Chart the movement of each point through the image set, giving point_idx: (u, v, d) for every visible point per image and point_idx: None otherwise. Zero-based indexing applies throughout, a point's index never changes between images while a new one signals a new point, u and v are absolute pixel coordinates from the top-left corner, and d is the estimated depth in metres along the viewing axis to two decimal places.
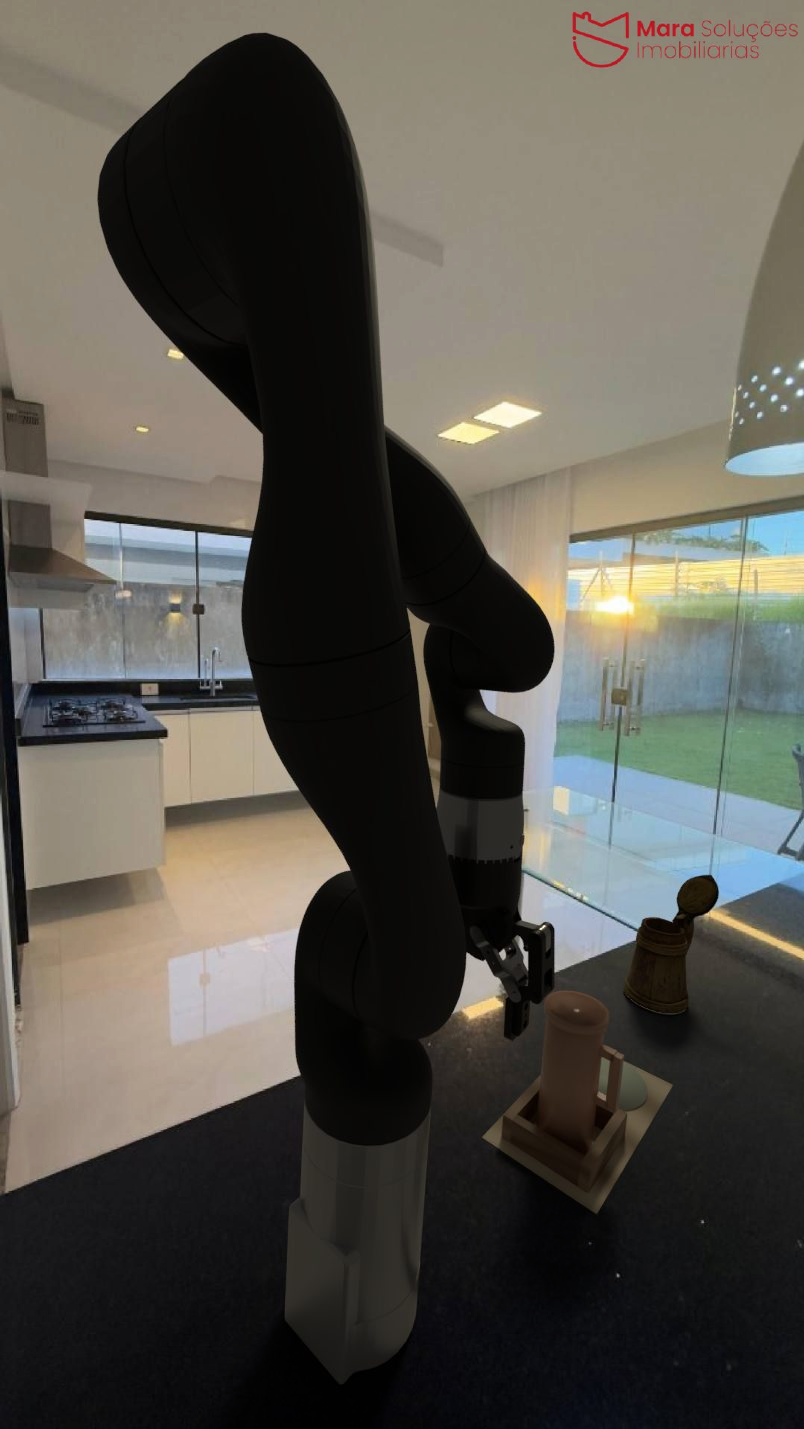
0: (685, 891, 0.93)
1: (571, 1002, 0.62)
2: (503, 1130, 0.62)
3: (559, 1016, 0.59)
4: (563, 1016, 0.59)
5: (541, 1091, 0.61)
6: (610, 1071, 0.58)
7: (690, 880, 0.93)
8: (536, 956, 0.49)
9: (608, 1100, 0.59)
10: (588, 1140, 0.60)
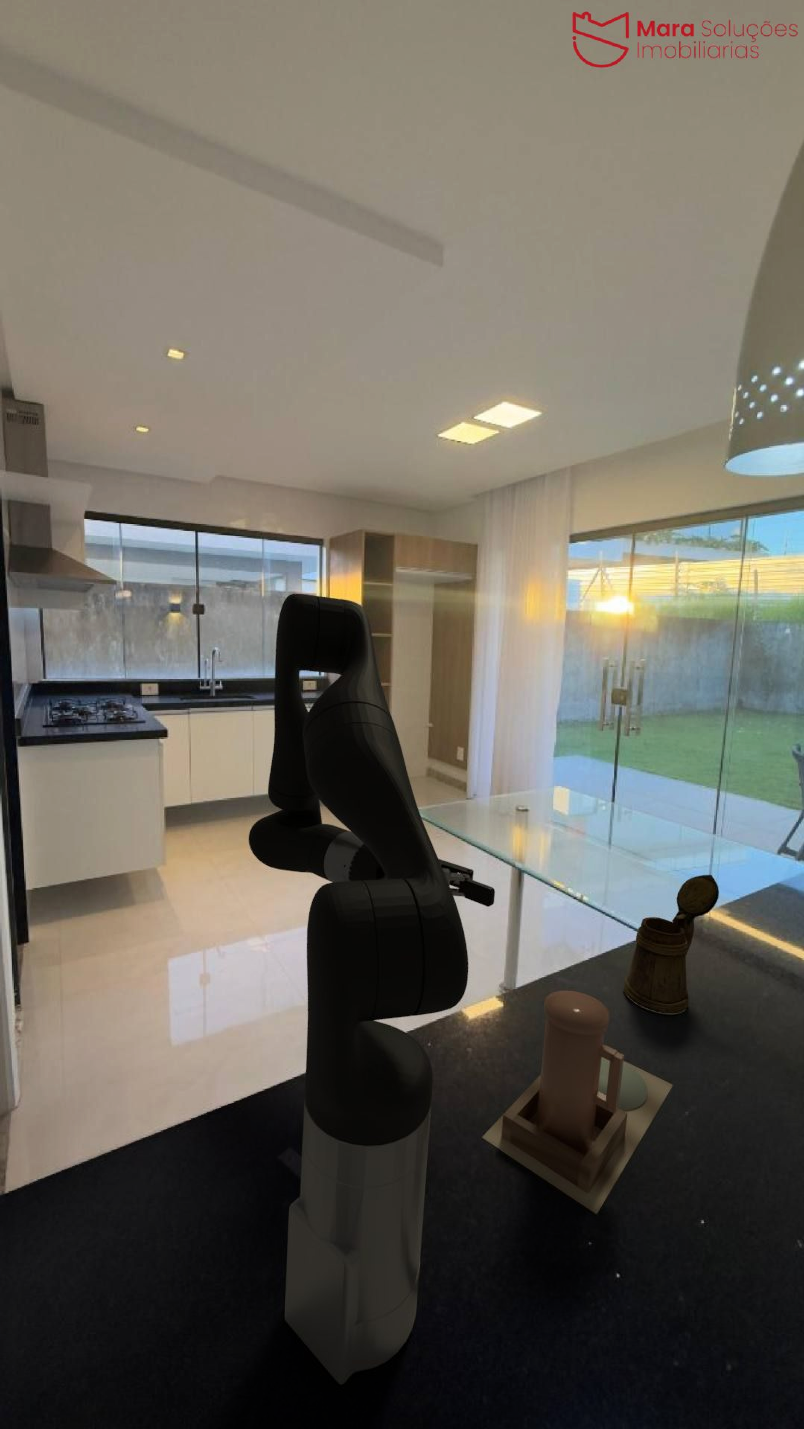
0: (685, 891, 0.93)
1: (571, 1002, 0.62)
2: (503, 1130, 0.62)
3: (559, 1016, 0.59)
4: (563, 1016, 0.59)
5: (541, 1091, 0.61)
6: (610, 1071, 0.58)
7: (690, 880, 0.93)
8: (446, 862, 0.78)
9: (608, 1100, 0.59)
10: (588, 1140, 0.60)
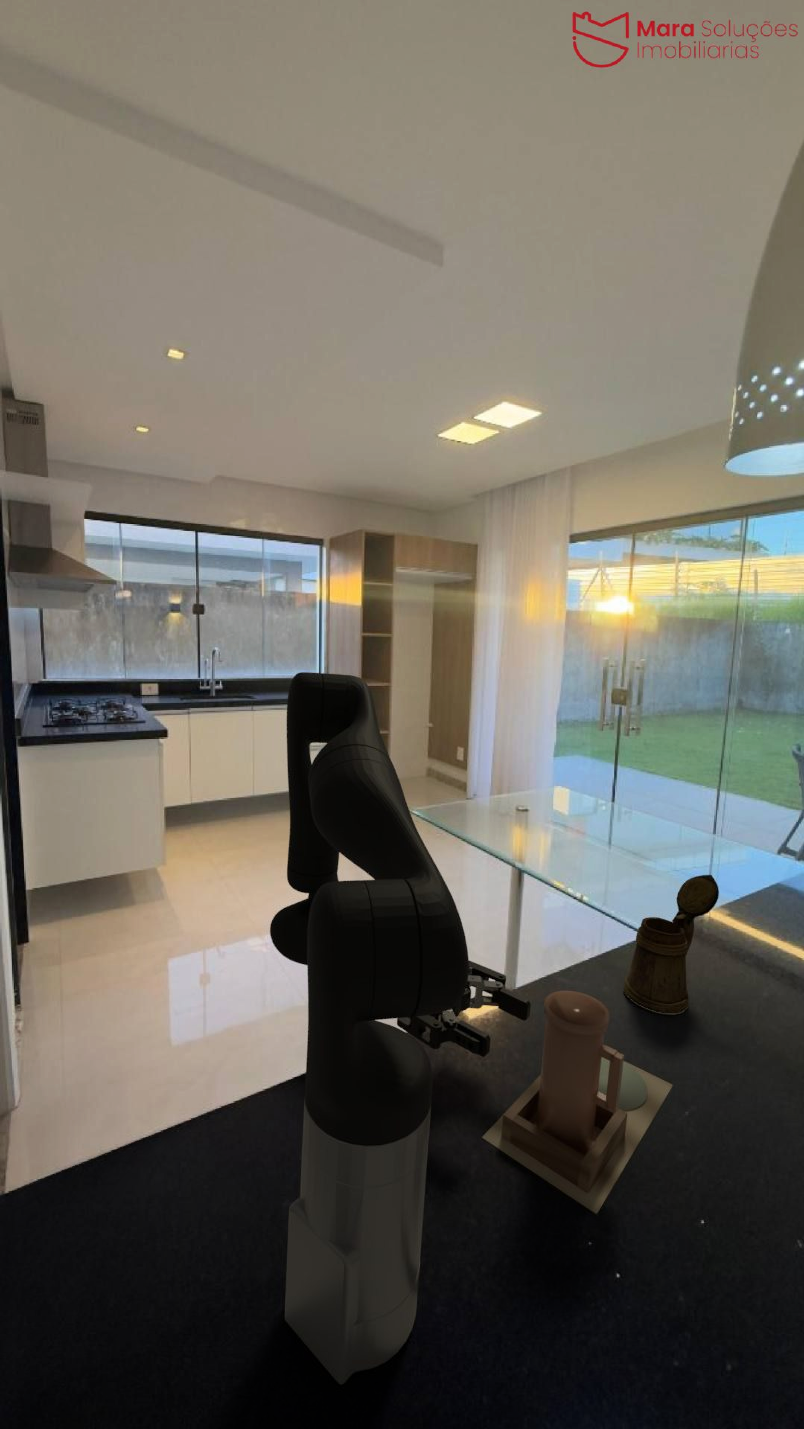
0: (685, 891, 0.93)
1: (571, 1002, 0.62)
2: (503, 1130, 0.62)
3: (559, 1016, 0.59)
4: (563, 1016, 0.59)
5: (541, 1091, 0.61)
6: (610, 1071, 0.58)
7: (690, 880, 0.93)
8: (477, 965, 0.76)
9: (608, 1100, 0.59)
10: (588, 1140, 0.60)
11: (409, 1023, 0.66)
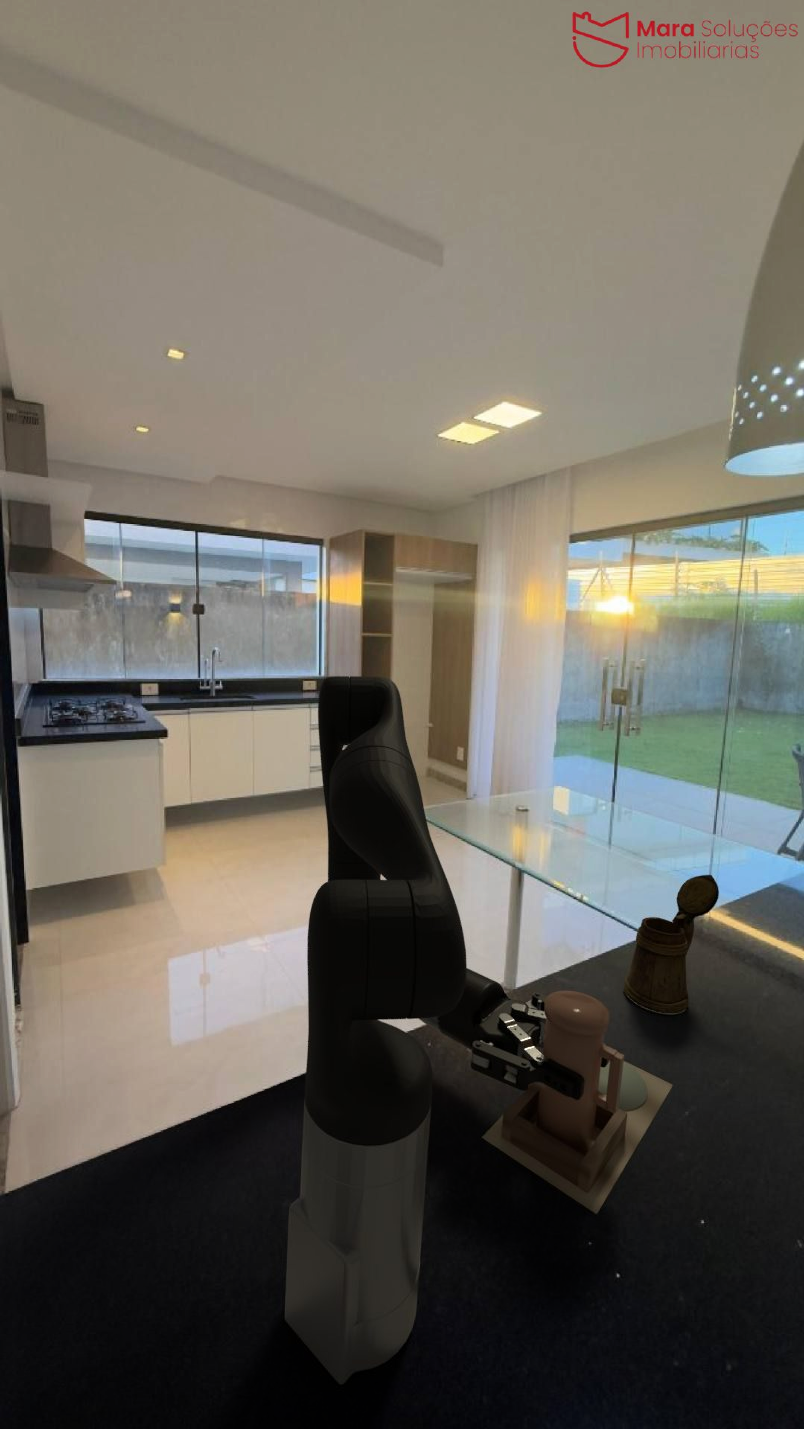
0: (685, 891, 0.93)
1: (571, 1002, 0.62)
2: (503, 1130, 0.62)
3: (559, 1016, 0.59)
4: (563, 1016, 0.59)
5: (541, 1091, 0.61)
6: (610, 1071, 0.58)
7: (690, 880, 0.93)
8: None
9: (608, 1100, 0.59)
10: (588, 1141, 0.60)
11: (488, 1065, 0.60)
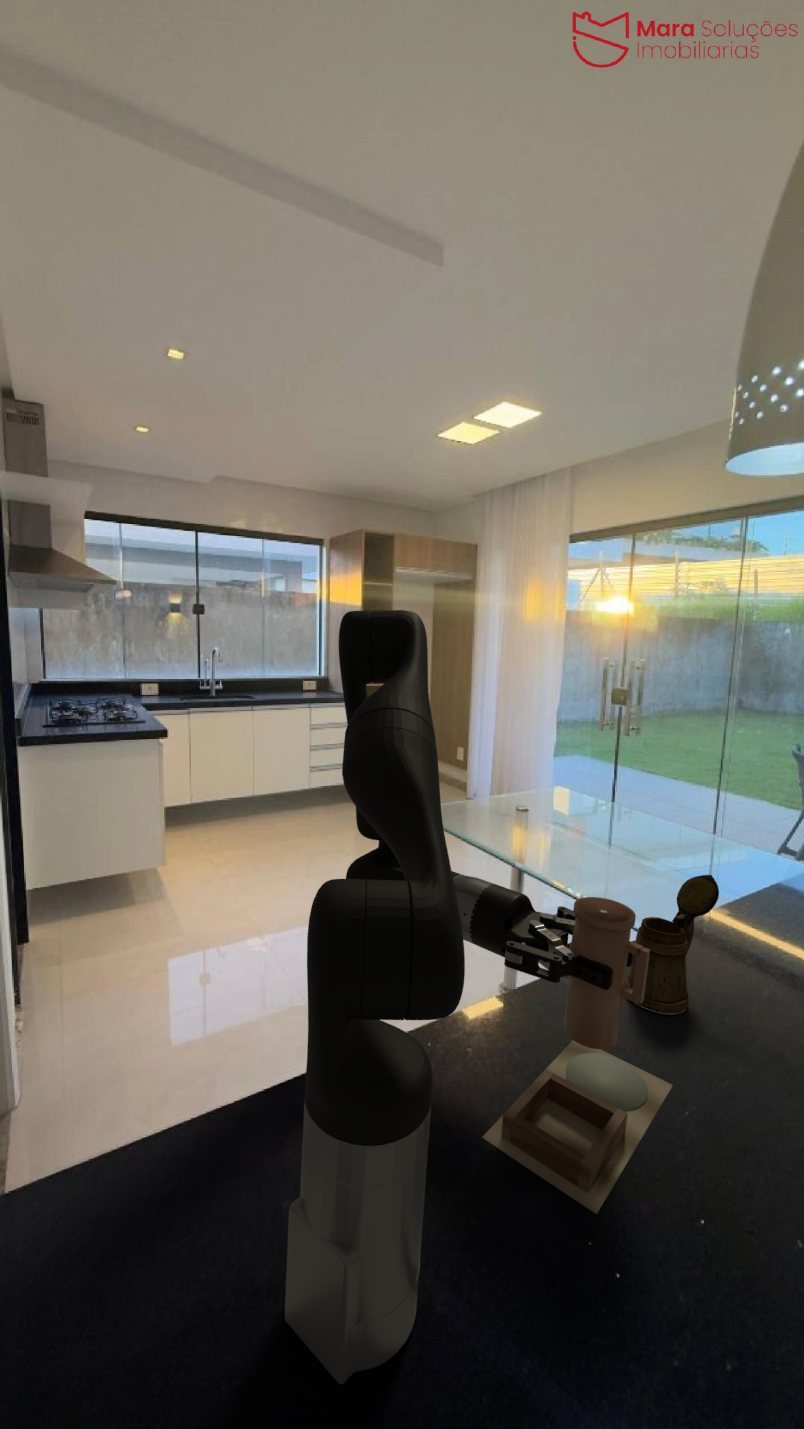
0: (685, 891, 0.93)
1: (599, 905, 0.65)
2: (503, 1130, 0.62)
3: (589, 915, 0.63)
4: (592, 914, 0.63)
5: (570, 988, 0.65)
6: (637, 965, 0.62)
7: (690, 880, 0.93)
8: (572, 912, 0.73)
9: (634, 992, 0.62)
10: (615, 1032, 0.64)
11: (522, 962, 0.64)
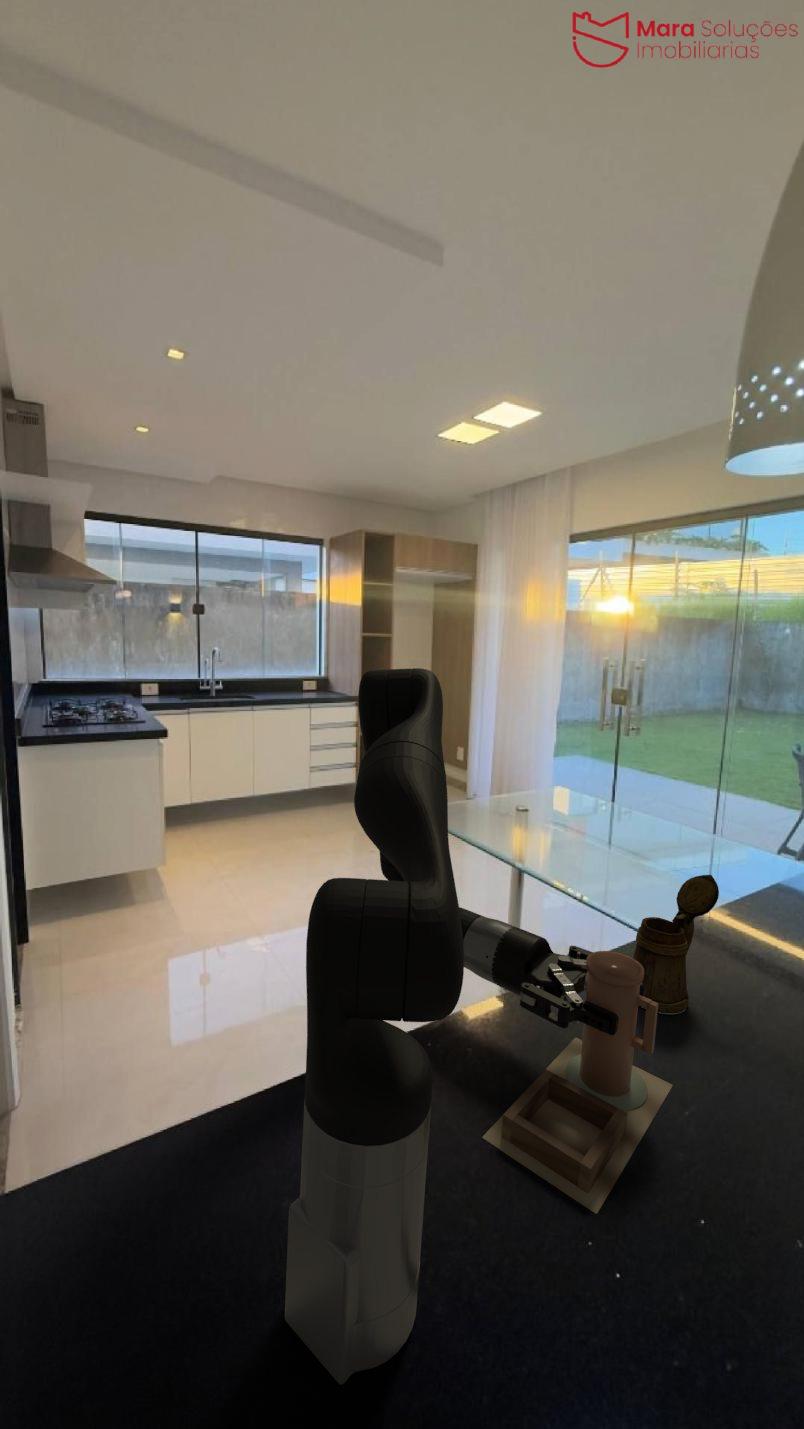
0: (685, 891, 0.93)
1: (610, 960, 0.70)
2: (503, 1130, 0.62)
3: (601, 971, 0.68)
4: (604, 970, 0.68)
5: (585, 1039, 0.70)
6: (646, 1017, 0.67)
7: (690, 880, 0.93)
8: (584, 951, 0.78)
9: (645, 1043, 0.67)
10: (627, 1080, 0.68)
11: (534, 1004, 0.69)
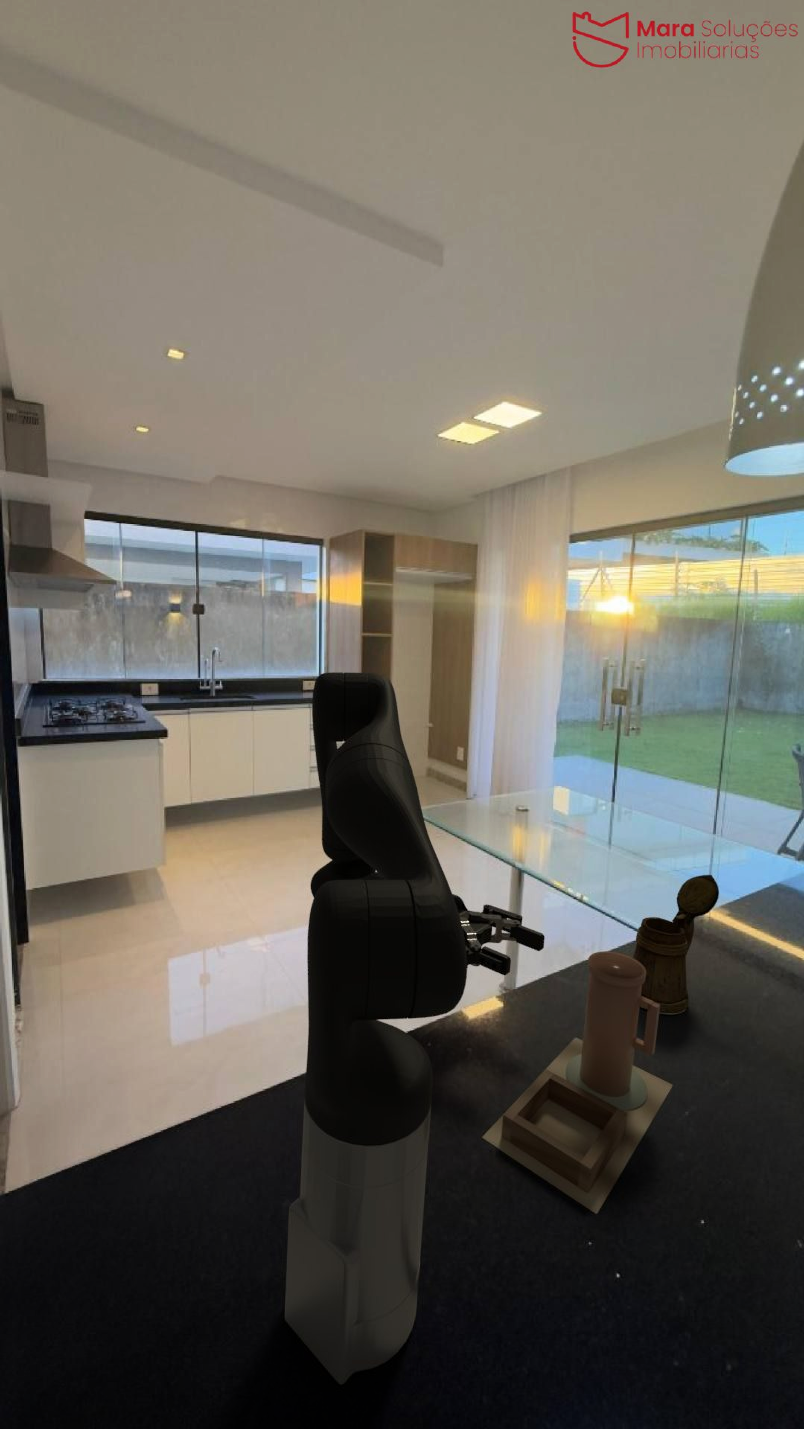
0: (685, 891, 0.93)
1: (612, 960, 0.70)
2: (503, 1130, 0.62)
3: (603, 971, 0.67)
4: (606, 971, 0.68)
5: (585, 1039, 0.70)
6: (647, 1018, 0.67)
7: (690, 880, 0.93)
8: (496, 908, 0.86)
9: (646, 1044, 0.67)
10: (628, 1081, 0.68)
11: None
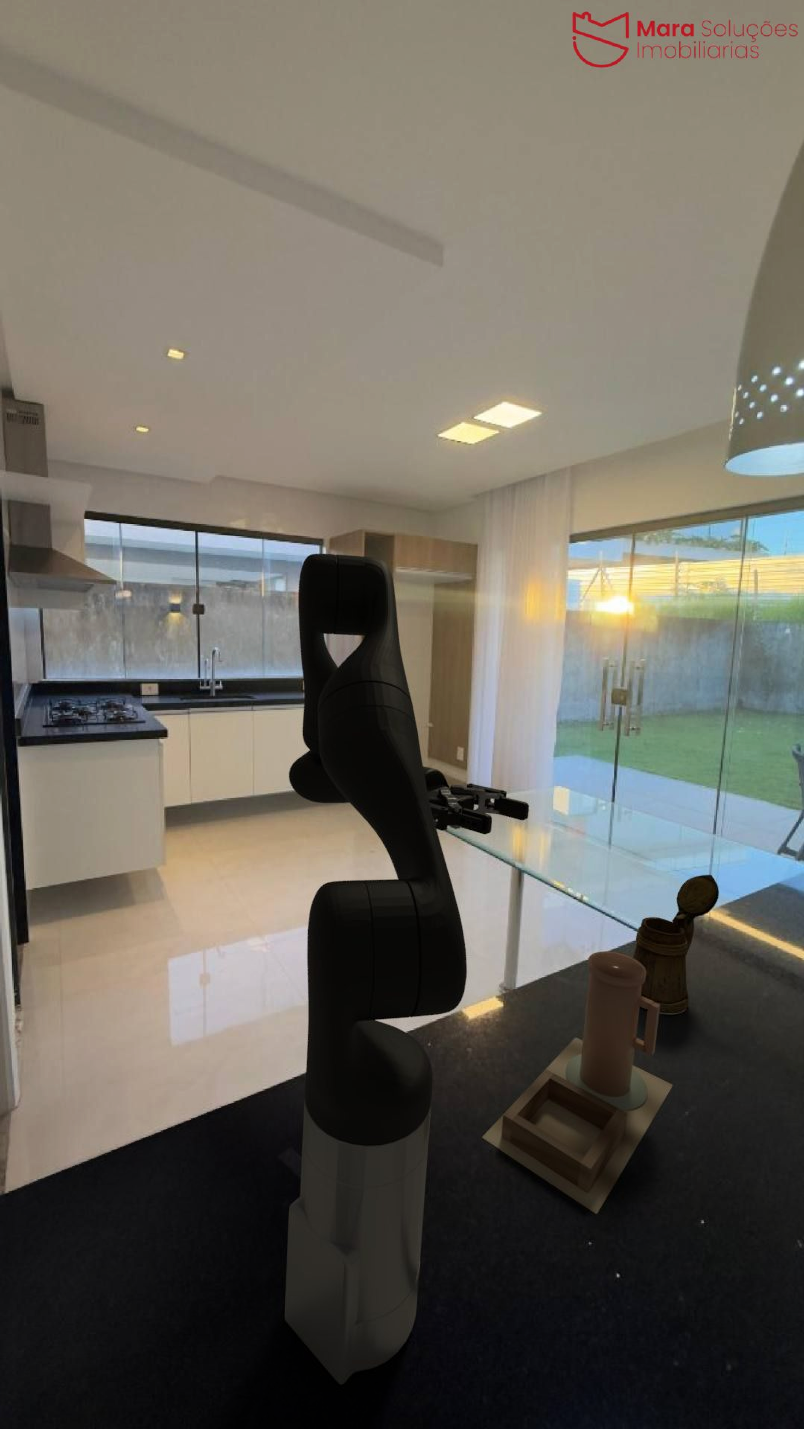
0: (685, 891, 0.93)
1: (612, 960, 0.70)
2: (503, 1130, 0.62)
3: (603, 971, 0.67)
4: (606, 971, 0.68)
5: (585, 1039, 0.70)
6: (647, 1018, 0.67)
7: (690, 880, 0.93)
8: (480, 786, 0.83)
9: (646, 1044, 0.67)
10: (628, 1081, 0.68)
11: None
